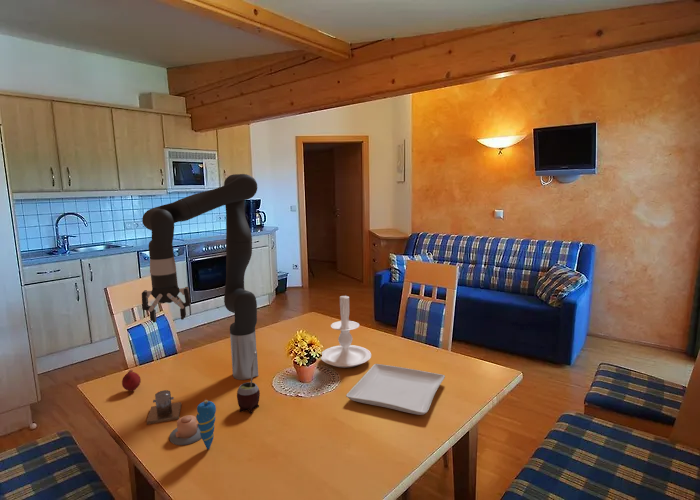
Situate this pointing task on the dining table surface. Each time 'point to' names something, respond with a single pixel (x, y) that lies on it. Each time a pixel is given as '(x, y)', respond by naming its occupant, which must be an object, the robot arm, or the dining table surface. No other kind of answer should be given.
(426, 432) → the dining table surface
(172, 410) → the cylinder on square base
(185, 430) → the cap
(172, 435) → the coaster
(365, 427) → the dining table surface
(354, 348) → the candlestick
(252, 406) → the mate gourd
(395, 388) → the square plate
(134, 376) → the onion
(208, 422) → the ornament
